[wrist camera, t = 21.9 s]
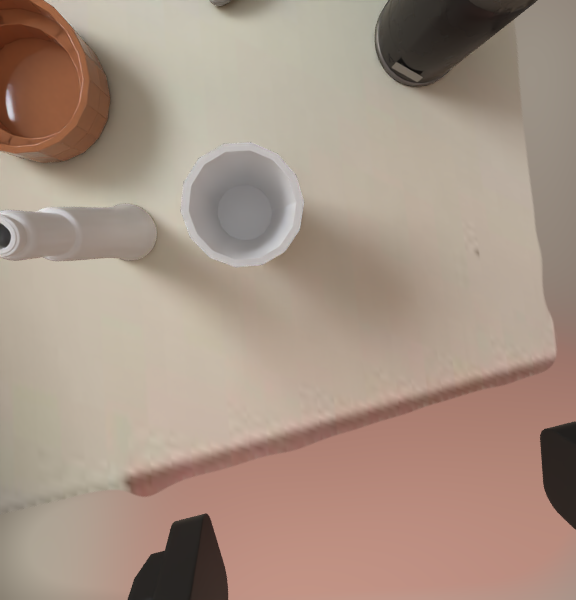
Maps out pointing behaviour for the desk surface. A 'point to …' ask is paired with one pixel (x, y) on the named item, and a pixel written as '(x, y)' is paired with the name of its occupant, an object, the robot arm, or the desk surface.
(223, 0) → the game controller
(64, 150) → the bowl
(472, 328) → the desk surface
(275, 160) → the foam cup
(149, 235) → the cosmetic bottle
